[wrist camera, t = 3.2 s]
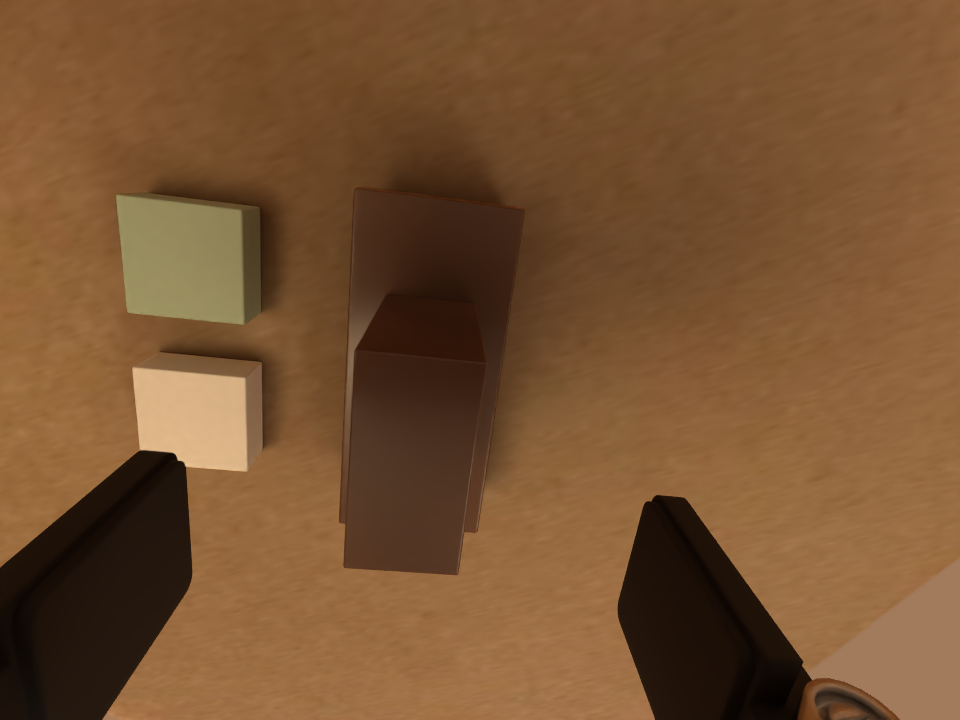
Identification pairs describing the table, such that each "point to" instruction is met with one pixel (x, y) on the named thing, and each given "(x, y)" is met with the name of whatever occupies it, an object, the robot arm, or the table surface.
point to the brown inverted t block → (422, 373)
